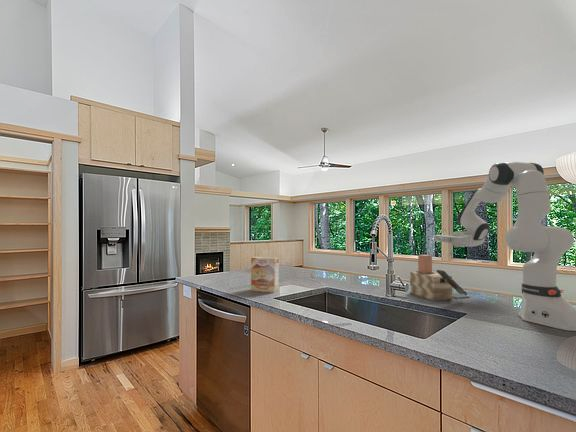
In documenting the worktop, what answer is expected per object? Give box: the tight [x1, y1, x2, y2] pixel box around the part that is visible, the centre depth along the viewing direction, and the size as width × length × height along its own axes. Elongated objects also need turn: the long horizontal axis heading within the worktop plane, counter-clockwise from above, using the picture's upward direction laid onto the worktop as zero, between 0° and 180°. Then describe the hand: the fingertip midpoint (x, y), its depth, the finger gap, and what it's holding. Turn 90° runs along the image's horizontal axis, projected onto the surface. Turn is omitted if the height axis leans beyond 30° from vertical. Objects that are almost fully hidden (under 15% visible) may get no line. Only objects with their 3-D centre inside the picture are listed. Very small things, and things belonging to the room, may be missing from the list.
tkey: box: [436, 269, 468, 296], centre depth 160 cm, size 8×2×19 cm
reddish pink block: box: [417, 254, 433, 273], centre depth 176 cm, size 5×5×10 cm
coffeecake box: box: [250, 256, 280, 294], centre depth 183 cm, size 15×7×20 cm, turn 71°
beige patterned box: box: [409, 270, 453, 301], centre depth 172 cm, size 18×12×13 cm, turn 18°
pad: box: [452, 292, 470, 300], centre depth 171 cm, size 9×9×1 cm
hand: (439, 239), depth 174 cm, fingers closed
